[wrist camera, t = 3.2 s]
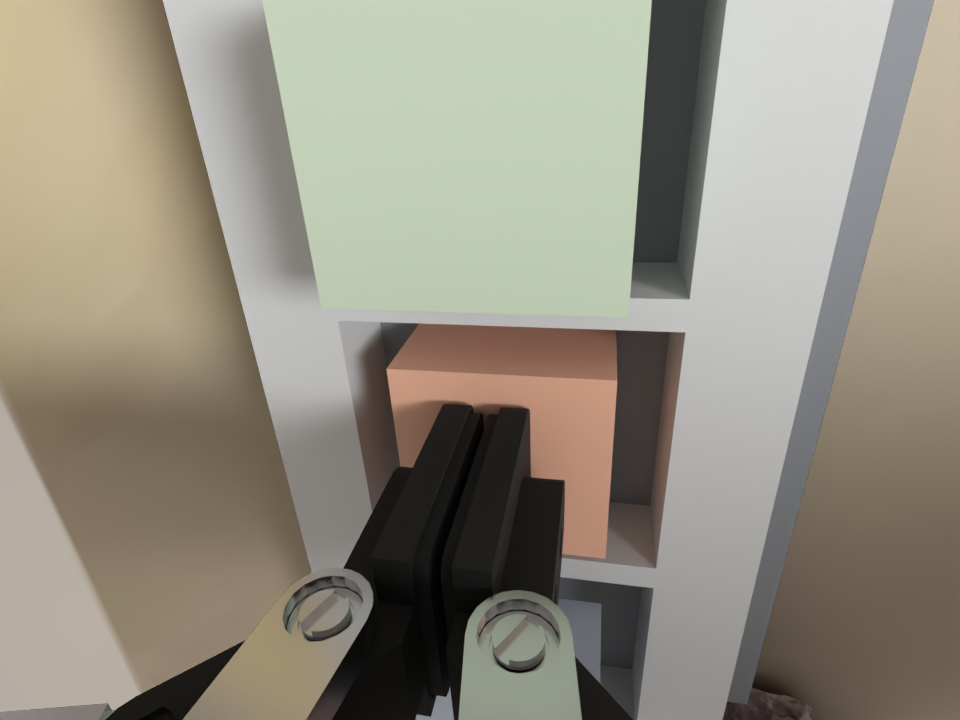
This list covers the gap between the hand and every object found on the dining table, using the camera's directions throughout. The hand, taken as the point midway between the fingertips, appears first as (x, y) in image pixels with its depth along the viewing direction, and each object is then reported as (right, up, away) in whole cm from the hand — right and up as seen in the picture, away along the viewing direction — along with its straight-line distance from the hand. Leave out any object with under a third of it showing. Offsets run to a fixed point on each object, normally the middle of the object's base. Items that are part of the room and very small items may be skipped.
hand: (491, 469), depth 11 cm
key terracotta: (+1, +1, +2) cm, 3 cm away
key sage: (0, +6, -2) cm, 6 cm away
